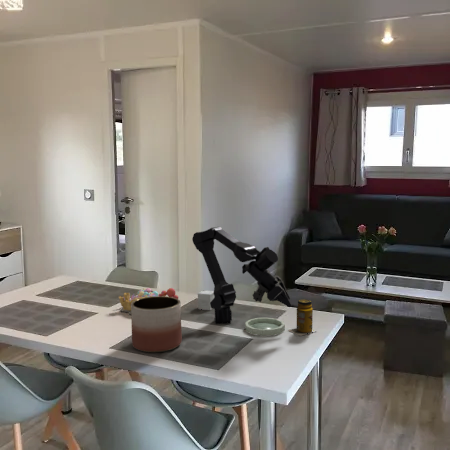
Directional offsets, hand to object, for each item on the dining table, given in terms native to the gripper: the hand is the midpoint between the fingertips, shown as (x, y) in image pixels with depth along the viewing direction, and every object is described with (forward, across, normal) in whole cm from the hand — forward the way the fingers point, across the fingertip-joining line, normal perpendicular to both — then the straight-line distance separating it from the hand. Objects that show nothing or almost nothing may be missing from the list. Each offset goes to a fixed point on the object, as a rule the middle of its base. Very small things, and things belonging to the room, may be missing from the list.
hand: (289, 303), depth 191 cm
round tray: (+1, -3, -15) cm, 15 cm away
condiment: (+12, -1, -5) cm, 13 cm away
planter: (-26, +16, -42) cm, 52 cm away
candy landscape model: (-35, -29, -52) cm, 69 cm away
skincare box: (-17, -31, -34) cm, 48 cm away
